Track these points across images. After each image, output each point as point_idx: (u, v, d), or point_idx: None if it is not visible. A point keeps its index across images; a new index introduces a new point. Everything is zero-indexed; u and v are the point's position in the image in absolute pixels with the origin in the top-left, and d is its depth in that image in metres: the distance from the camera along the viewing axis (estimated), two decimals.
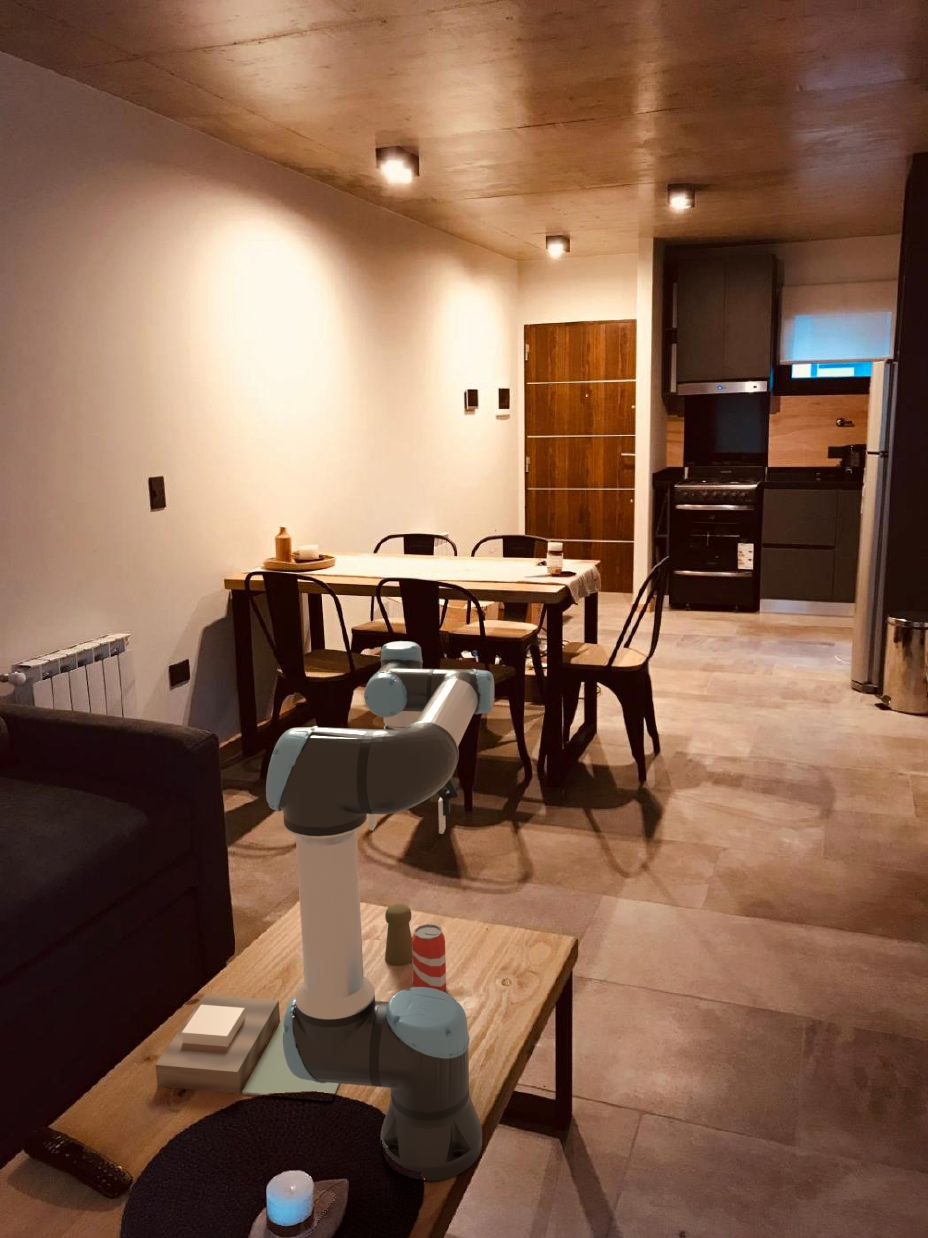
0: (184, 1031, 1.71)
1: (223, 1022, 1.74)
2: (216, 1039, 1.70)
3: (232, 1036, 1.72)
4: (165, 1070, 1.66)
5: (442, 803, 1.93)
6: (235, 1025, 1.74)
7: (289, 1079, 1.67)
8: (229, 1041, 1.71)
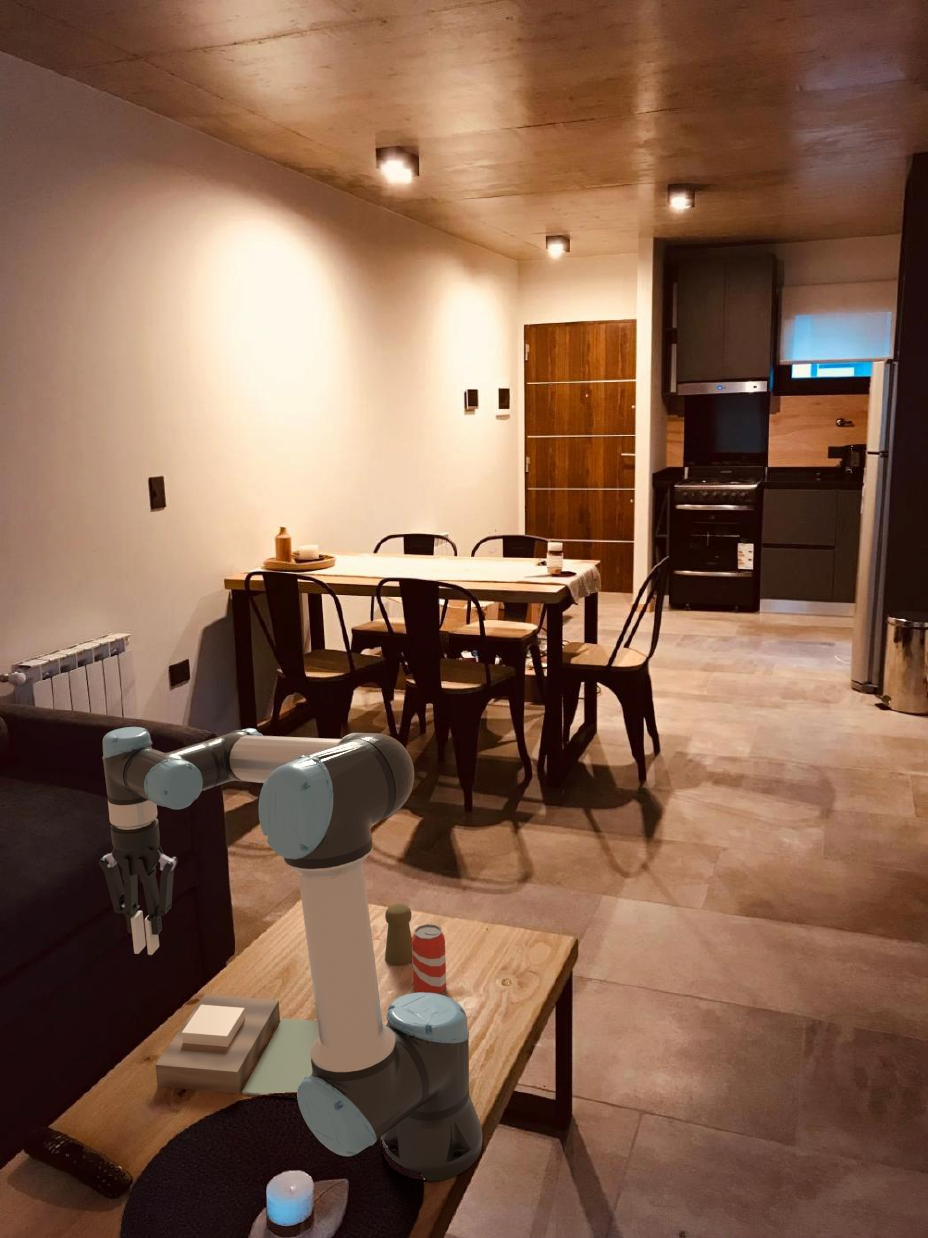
0: (184, 1031, 1.71)
1: (223, 1022, 1.74)
2: (216, 1039, 1.70)
3: (232, 1036, 1.72)
4: (165, 1070, 1.66)
5: (149, 921, 1.71)
6: (235, 1025, 1.74)
7: (289, 1079, 1.67)
8: (229, 1041, 1.71)
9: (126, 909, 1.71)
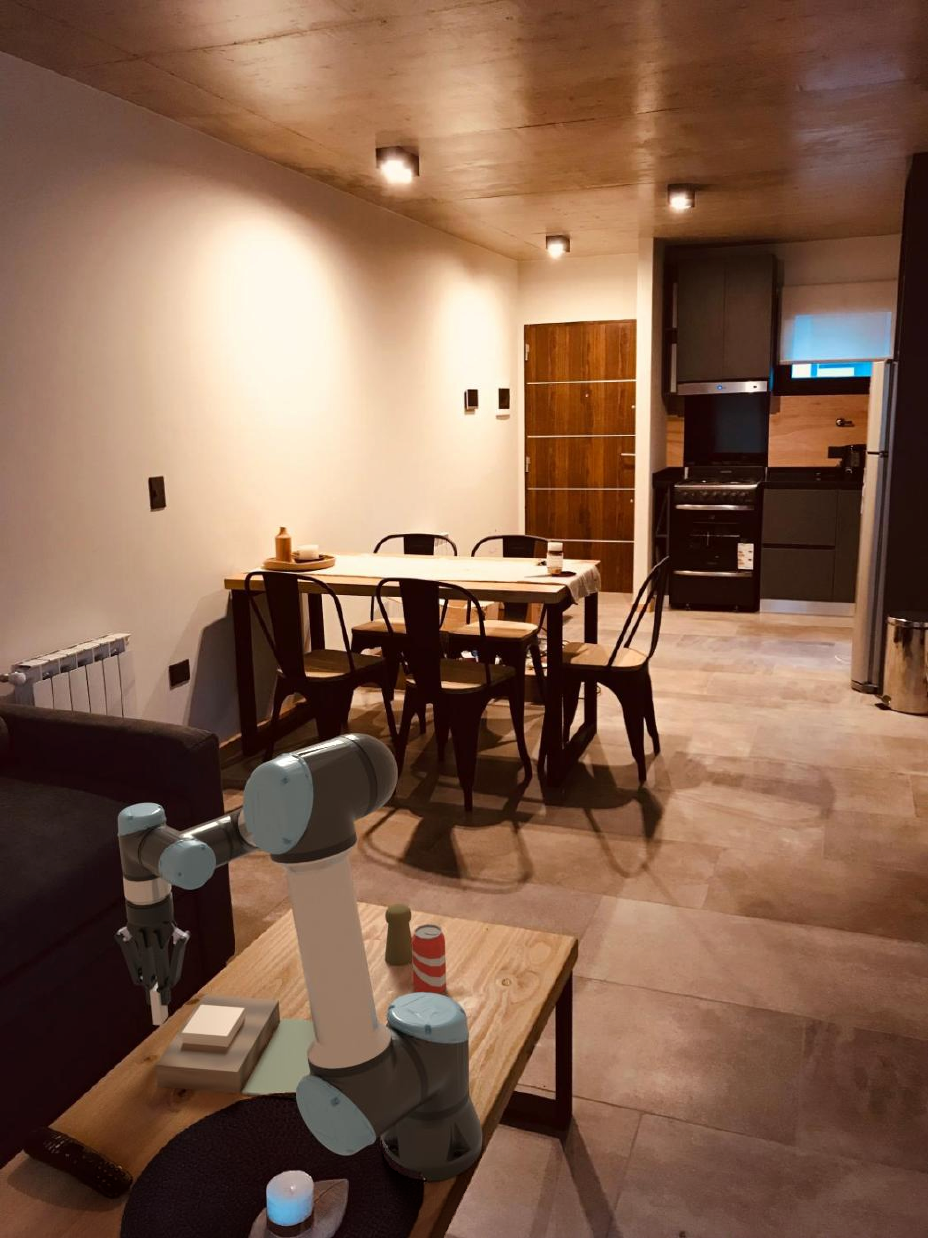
0: (184, 1031, 1.71)
1: (223, 1022, 1.74)
2: (216, 1039, 1.70)
3: (232, 1036, 1.72)
4: (165, 1070, 1.66)
5: (159, 993, 1.74)
6: (235, 1025, 1.74)
7: (289, 1079, 1.67)
8: (229, 1041, 1.71)
9: (145, 981, 1.73)
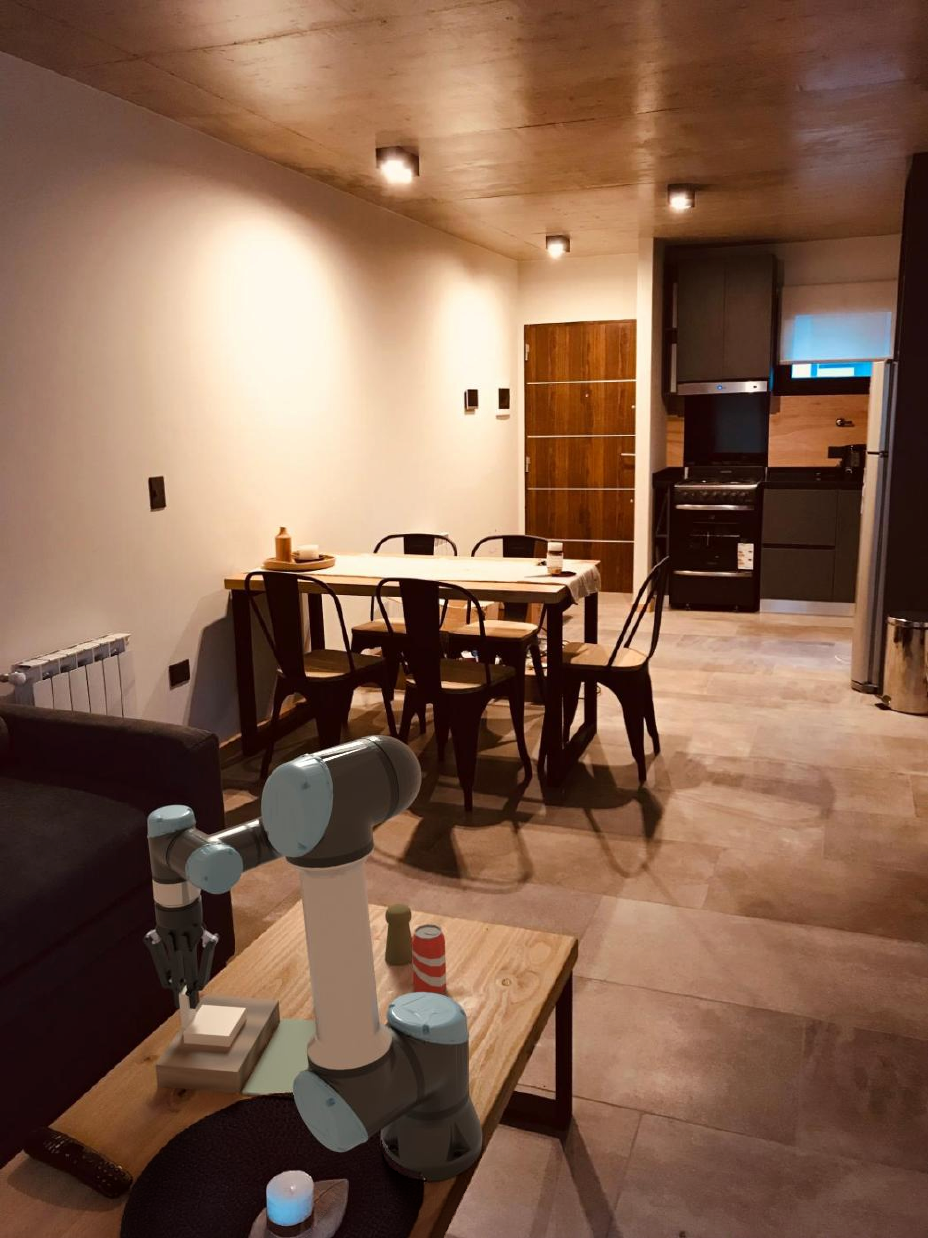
0: (186, 1031, 1.71)
1: (224, 1022, 1.74)
2: (218, 1039, 1.70)
3: (234, 1036, 1.72)
4: (165, 1070, 1.66)
5: (187, 996, 1.73)
6: (237, 1025, 1.74)
7: (289, 1079, 1.67)
8: (231, 1041, 1.71)
9: (174, 985, 1.72)
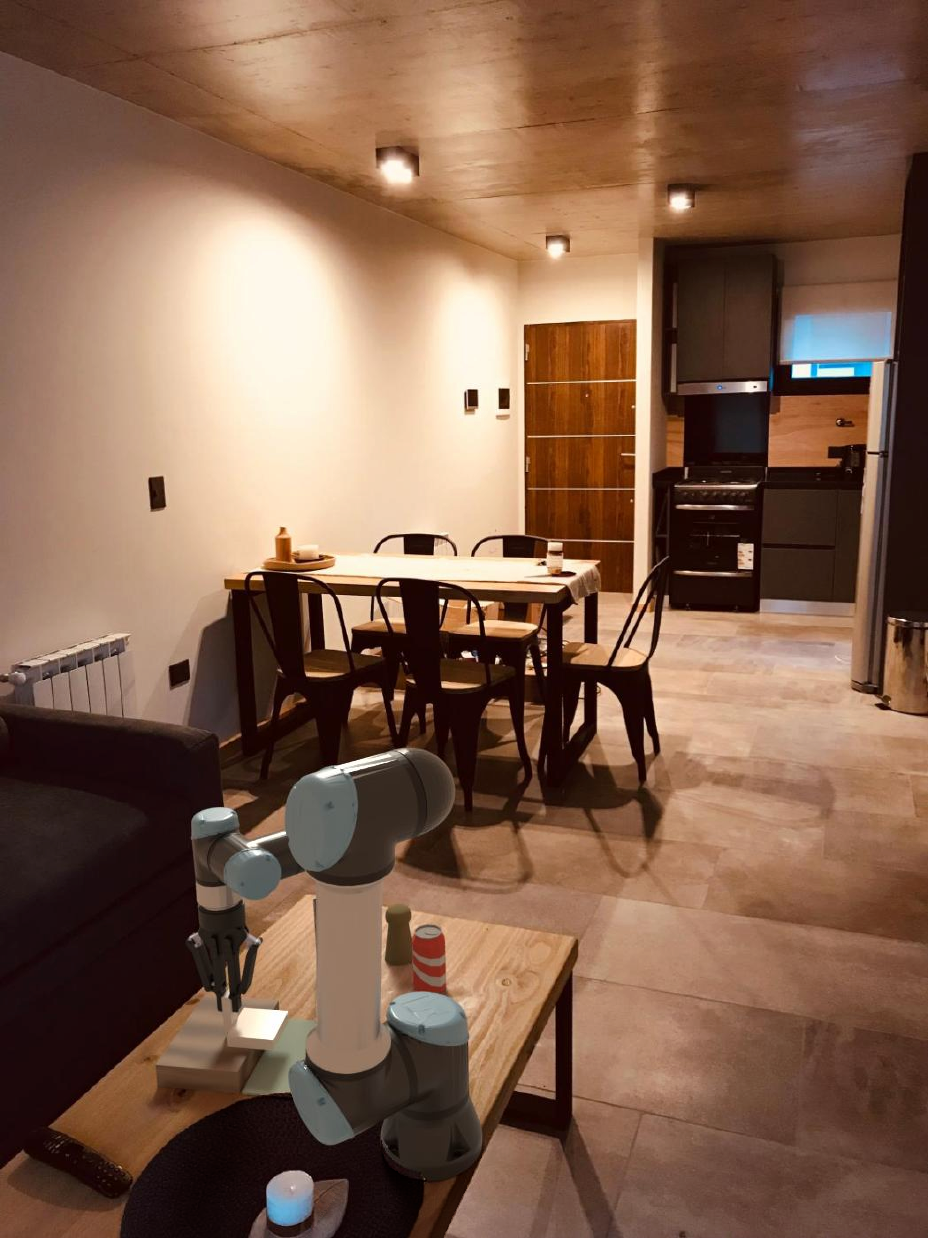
0: (229, 1034, 1.70)
1: (267, 1026, 1.72)
2: (261, 1043, 1.69)
3: (277, 1040, 1.71)
4: (165, 1070, 1.66)
5: (230, 999, 1.71)
6: (280, 1029, 1.73)
7: None
8: (274, 1045, 1.70)
9: (216, 988, 1.71)
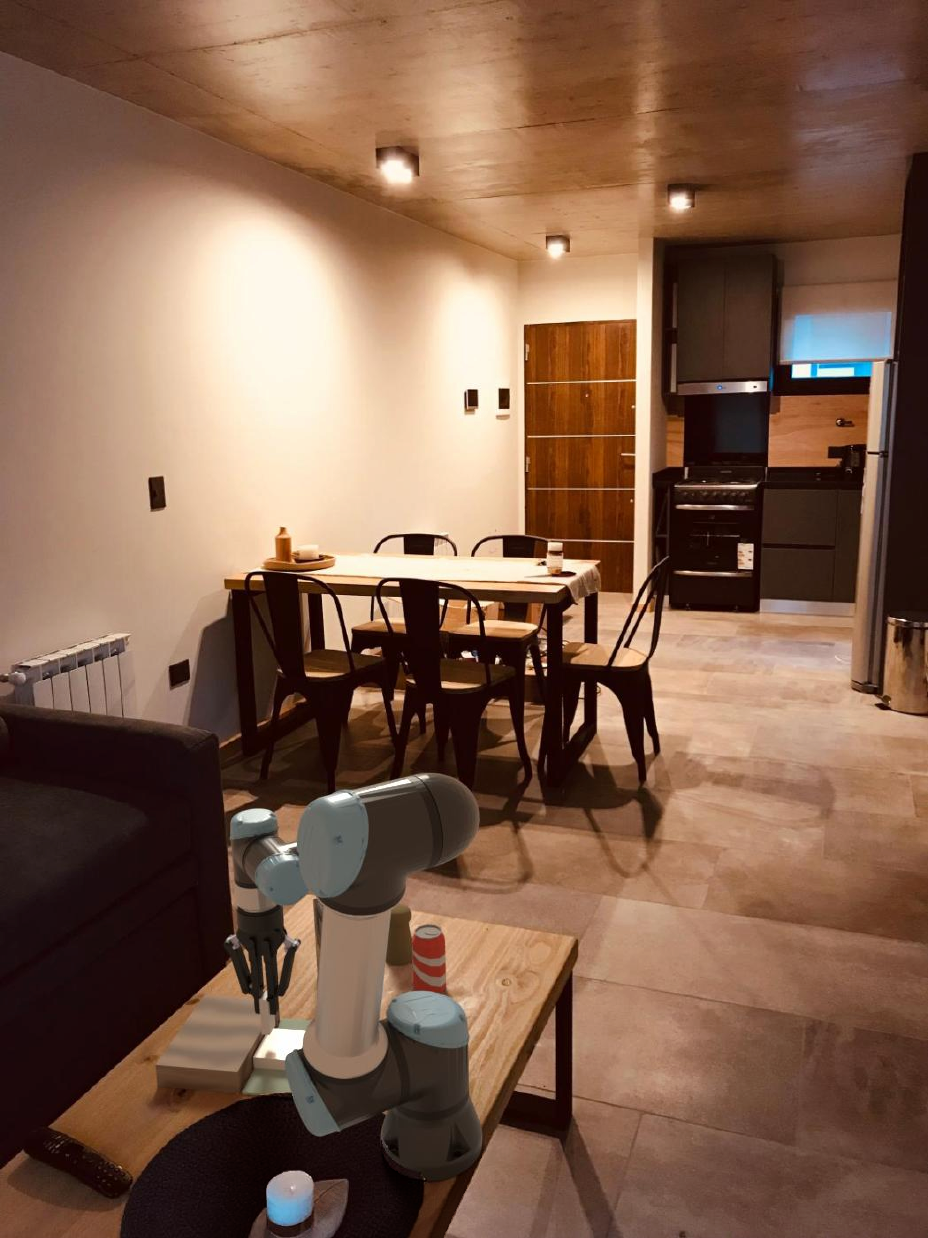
0: (255, 1056, 1.70)
1: (293, 1047, 1.72)
2: None
3: None
4: (165, 1070, 1.66)
5: (268, 1002, 1.70)
6: None
7: None
8: None
9: (254, 990, 1.70)
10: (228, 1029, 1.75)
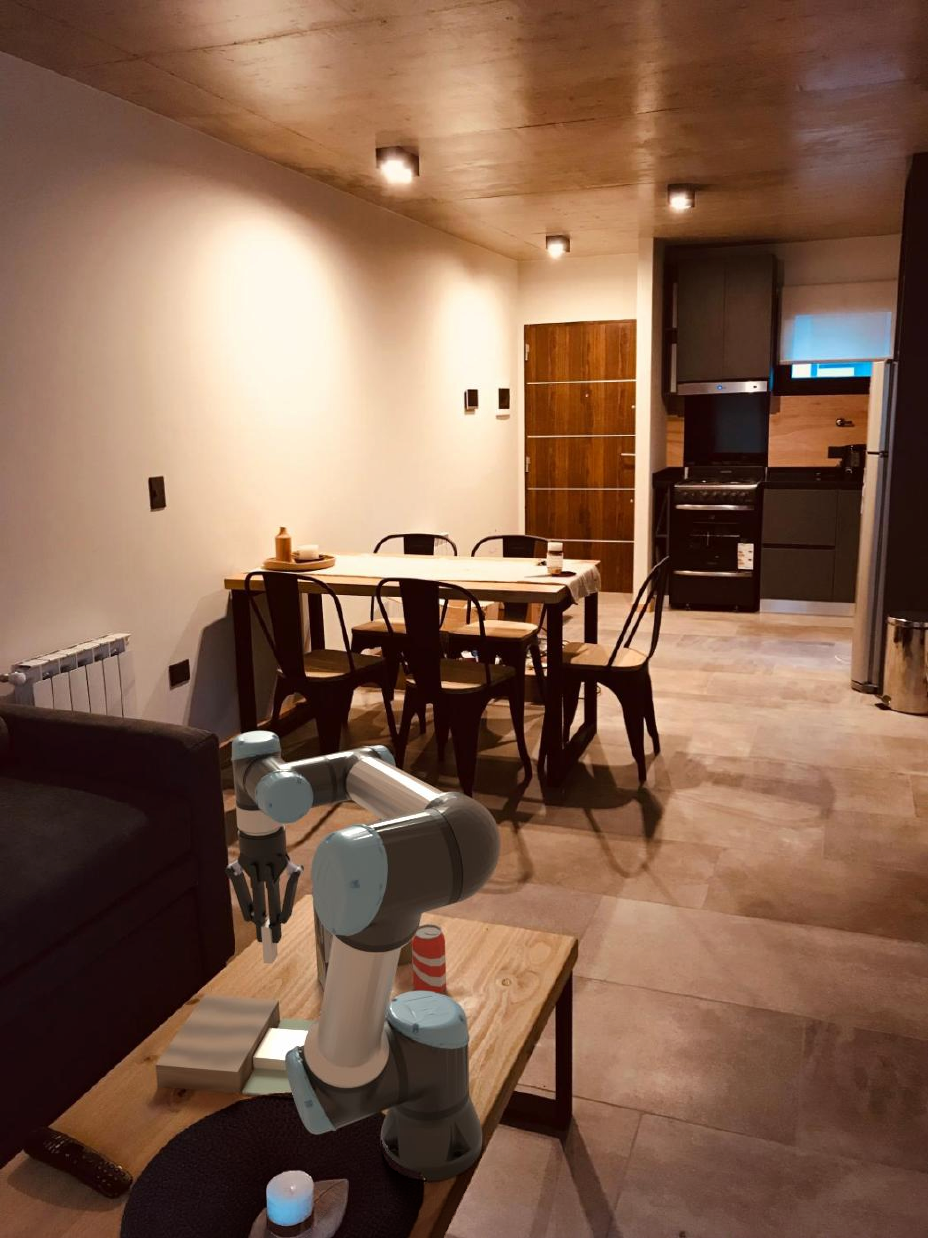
0: (255, 1056, 1.70)
1: (293, 1047, 1.72)
2: None
3: None
4: (165, 1070, 1.66)
5: (270, 929, 1.67)
6: None
7: None
8: None
9: (256, 918, 1.67)
10: (228, 1029, 1.75)
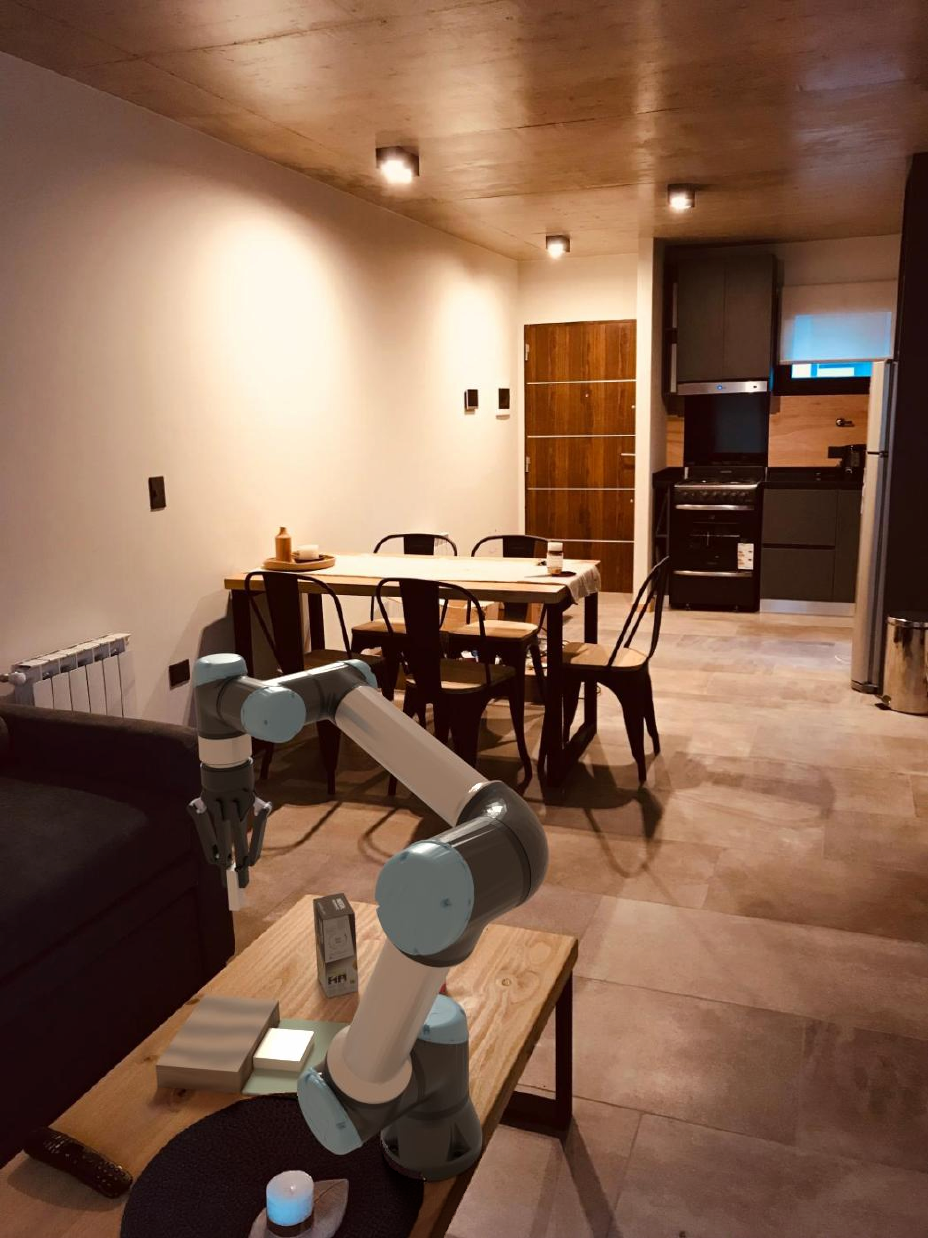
0: (255, 1056, 1.70)
1: (293, 1047, 1.72)
2: (288, 1064, 1.69)
3: (303, 1061, 1.71)
4: (165, 1070, 1.66)
5: (236, 873, 1.52)
6: (306, 1050, 1.73)
7: (289, 1079, 1.67)
8: (301, 1066, 1.70)
9: (221, 860, 1.52)
10: (228, 1029, 1.75)
